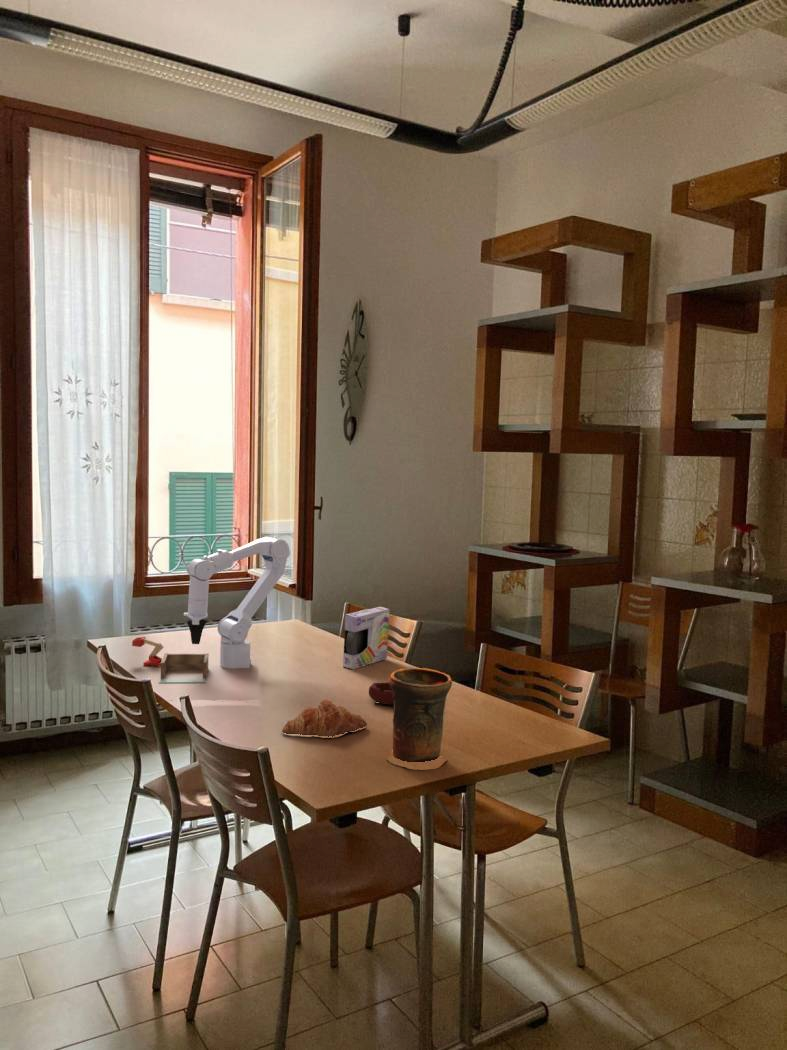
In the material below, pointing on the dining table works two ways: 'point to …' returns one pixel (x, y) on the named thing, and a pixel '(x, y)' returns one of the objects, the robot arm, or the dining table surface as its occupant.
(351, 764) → the dining table surface
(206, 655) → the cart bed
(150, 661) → the red desk lamp
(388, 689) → the ashtray
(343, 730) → the pastry
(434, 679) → the vessel
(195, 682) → the panel
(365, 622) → the cake pan box
